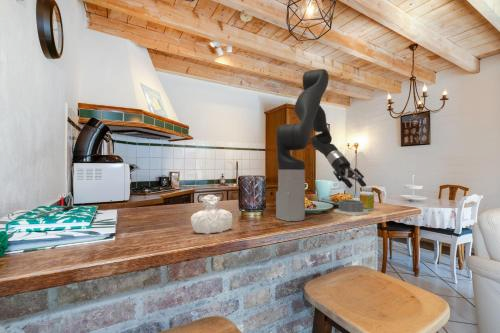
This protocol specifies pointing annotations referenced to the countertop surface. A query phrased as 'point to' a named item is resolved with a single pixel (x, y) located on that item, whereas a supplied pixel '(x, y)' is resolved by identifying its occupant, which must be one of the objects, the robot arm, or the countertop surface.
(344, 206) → the grey low cylinder
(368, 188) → the beer glass
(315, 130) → the robot arm
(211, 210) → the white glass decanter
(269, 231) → the countertop surface
